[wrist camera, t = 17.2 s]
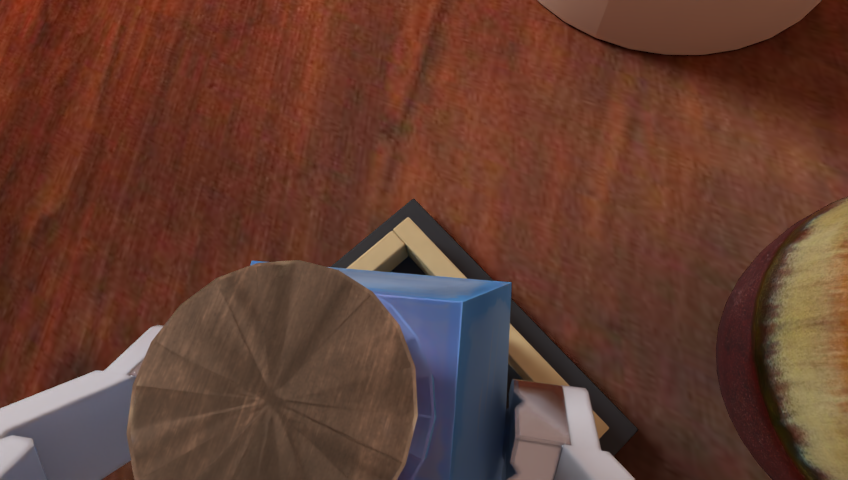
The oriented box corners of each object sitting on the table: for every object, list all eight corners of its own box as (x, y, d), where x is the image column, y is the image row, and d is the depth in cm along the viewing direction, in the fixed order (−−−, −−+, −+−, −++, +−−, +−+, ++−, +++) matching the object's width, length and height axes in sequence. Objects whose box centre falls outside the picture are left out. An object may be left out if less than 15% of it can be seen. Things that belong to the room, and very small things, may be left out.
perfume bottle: (479, 529, 16) (560, 825, 4) (282, 505, 16) (-118, 714, 5) (490, 327, 18) (565, 162, 6) (315, 311, 18) (90, 131, 7)
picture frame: (379, 690, 16) (367, 735, 14) (183, 399, 20) (147, 397, 17) (629, 429, 19) (655, 430, 16) (414, 207, 22) (411, 182, 20)
